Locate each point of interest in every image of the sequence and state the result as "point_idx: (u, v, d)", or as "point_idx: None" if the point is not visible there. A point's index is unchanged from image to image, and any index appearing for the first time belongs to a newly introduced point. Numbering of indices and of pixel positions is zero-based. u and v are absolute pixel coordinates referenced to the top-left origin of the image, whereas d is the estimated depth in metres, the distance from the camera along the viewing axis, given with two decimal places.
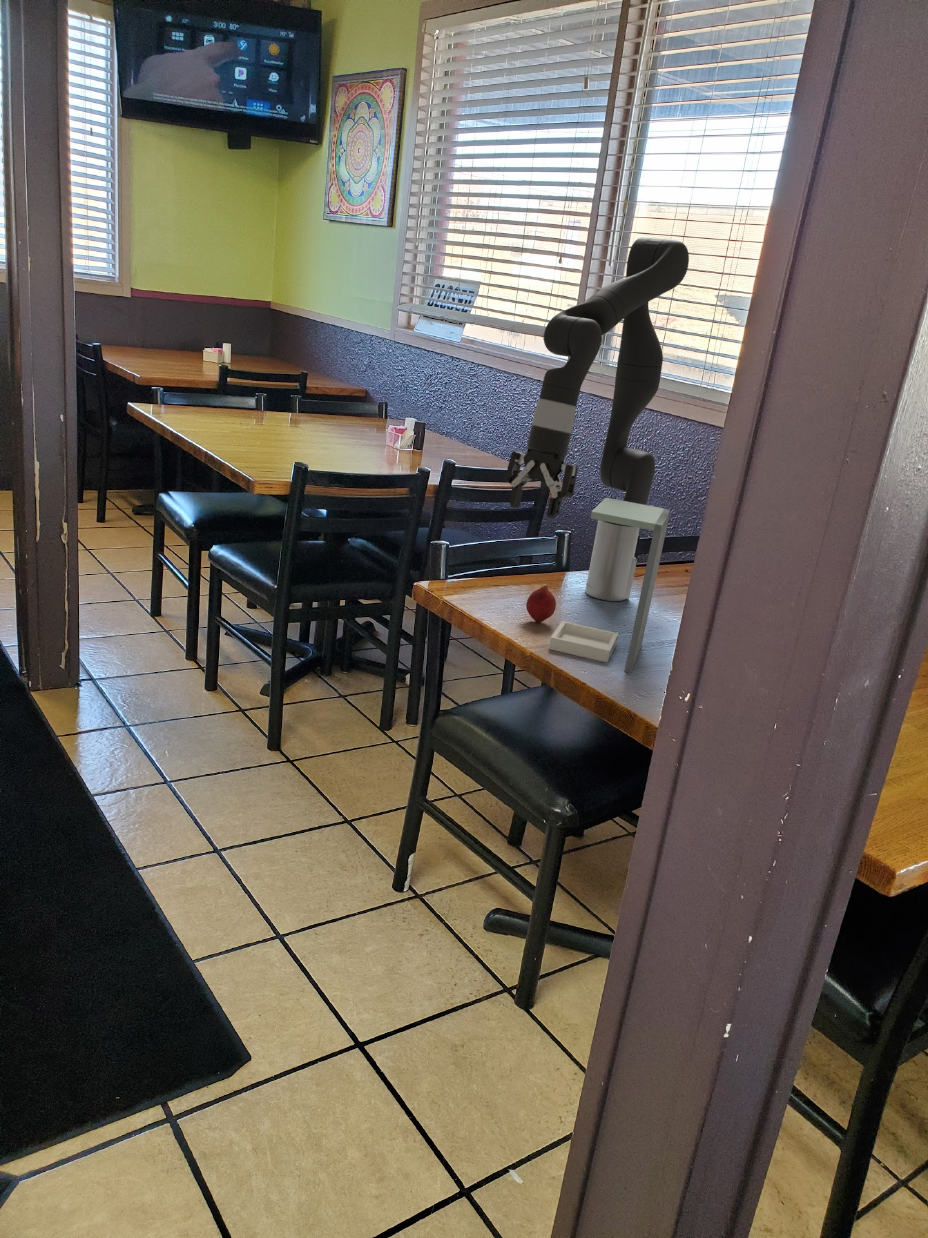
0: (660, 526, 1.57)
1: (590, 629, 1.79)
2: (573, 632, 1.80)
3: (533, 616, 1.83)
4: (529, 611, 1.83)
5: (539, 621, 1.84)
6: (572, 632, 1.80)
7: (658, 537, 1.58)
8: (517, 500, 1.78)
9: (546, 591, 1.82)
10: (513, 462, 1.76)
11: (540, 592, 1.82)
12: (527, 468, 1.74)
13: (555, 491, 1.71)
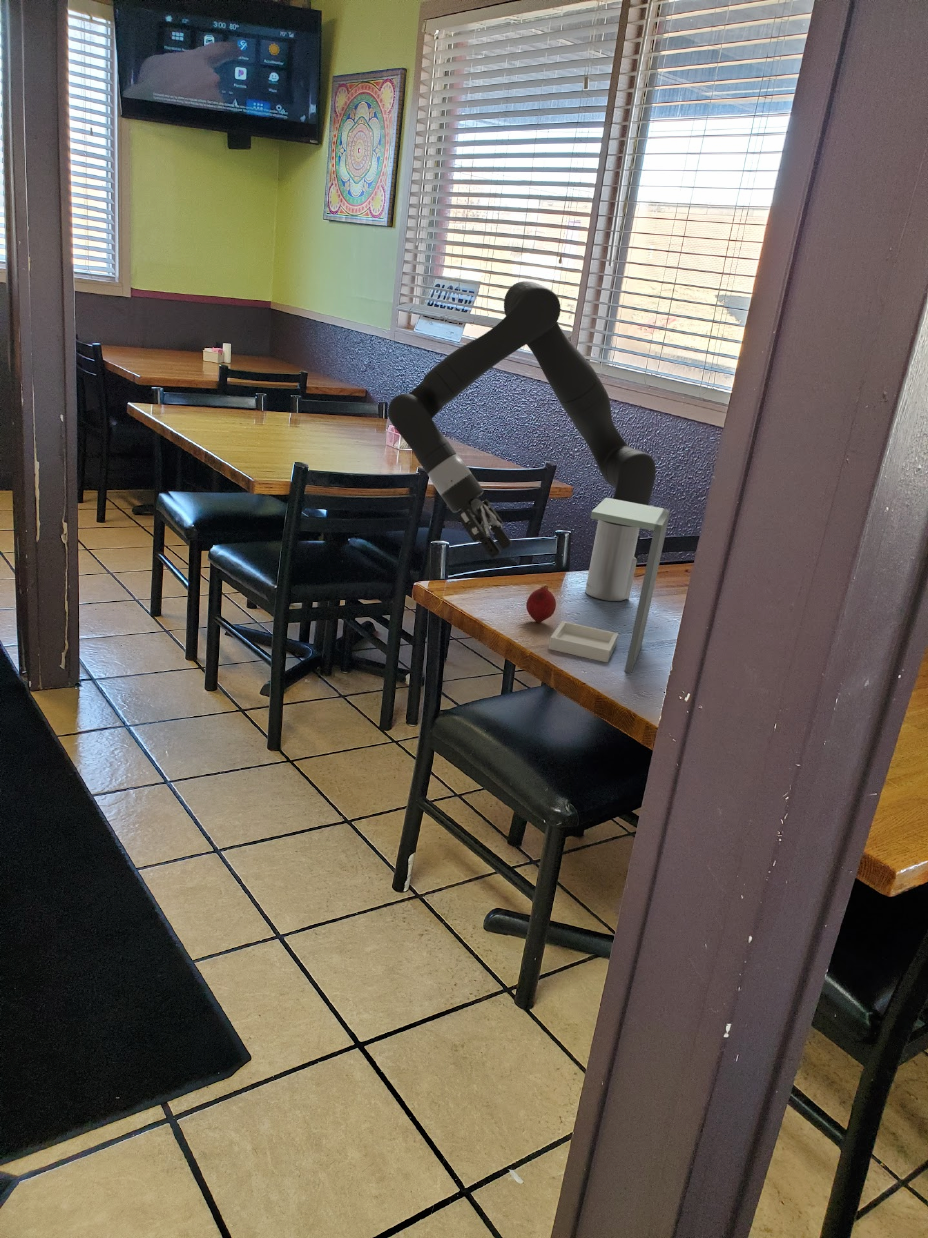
0: (660, 526, 1.57)
1: (590, 629, 1.79)
2: (573, 632, 1.80)
3: (533, 616, 1.83)
4: (529, 611, 1.83)
5: (539, 621, 1.84)
6: (572, 632, 1.80)
7: (658, 537, 1.58)
8: (503, 541, 1.87)
9: (546, 591, 1.82)
10: None
11: (540, 592, 1.82)
12: None
13: None
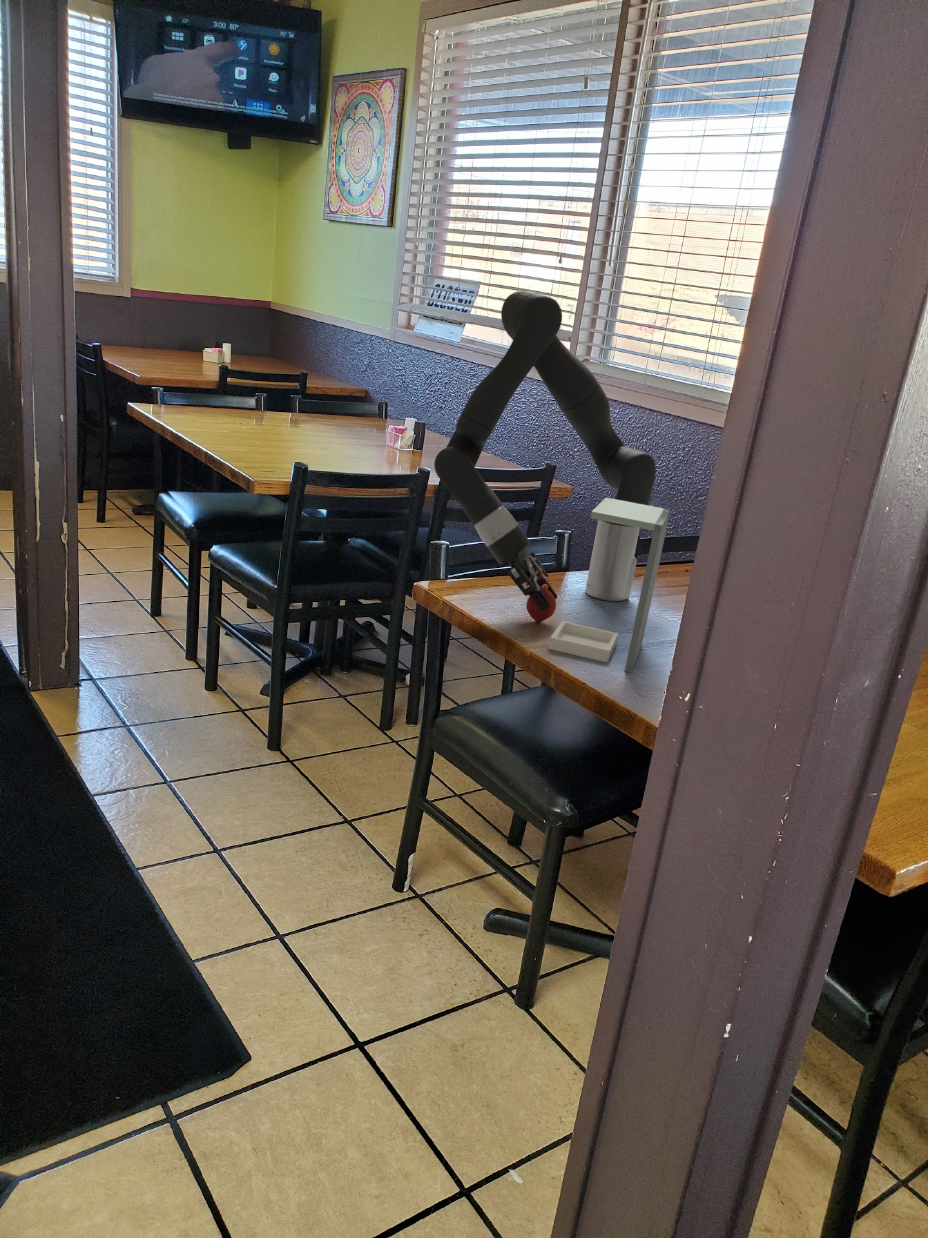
0: (660, 526, 1.57)
1: (590, 629, 1.79)
2: (573, 632, 1.80)
3: (533, 616, 1.83)
4: (530, 611, 1.83)
5: (539, 621, 1.84)
6: (572, 632, 1.80)
7: (658, 537, 1.58)
8: None
9: (546, 591, 1.82)
10: None
11: None
12: None
13: None
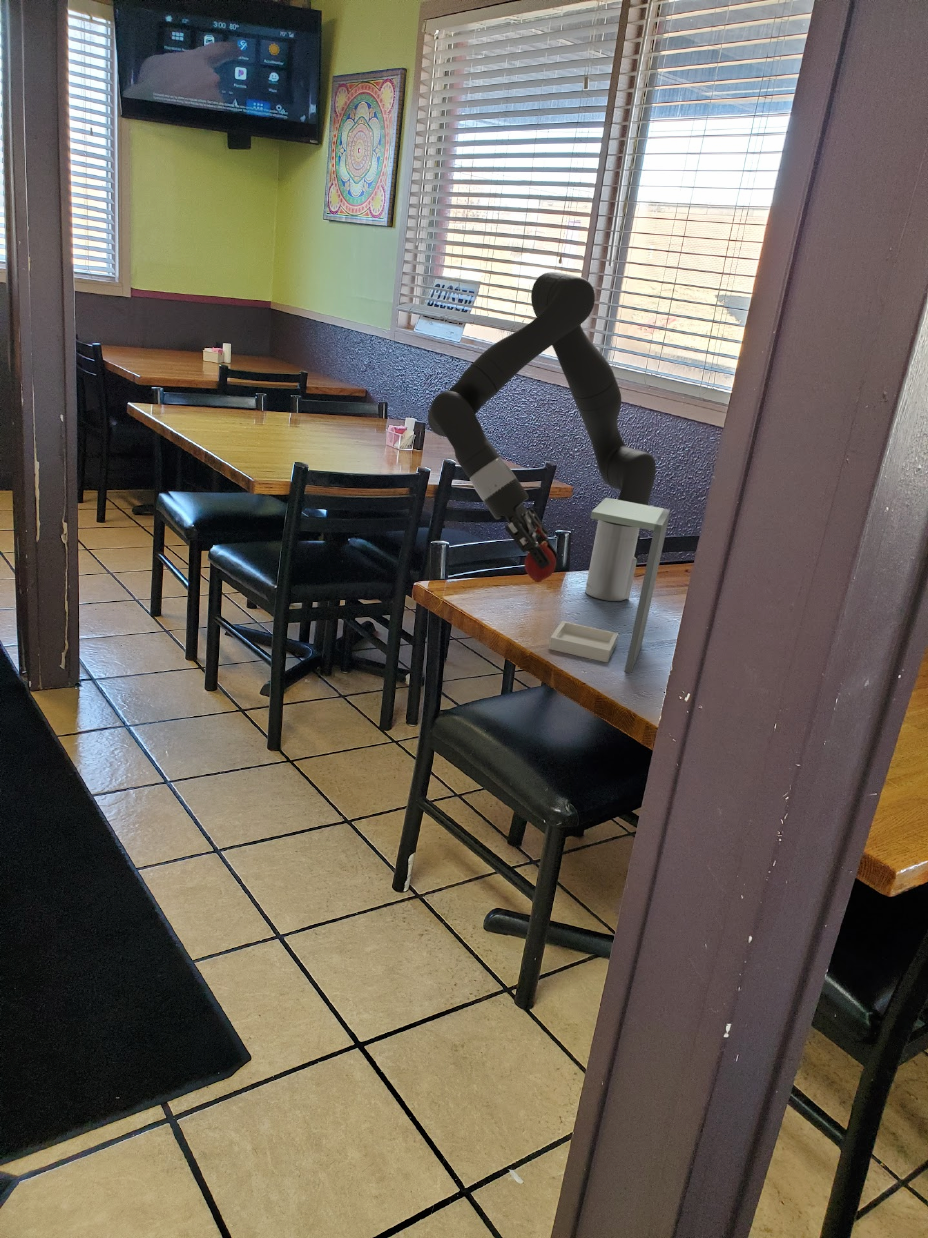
0: (660, 526, 1.57)
1: (590, 629, 1.79)
2: (573, 632, 1.80)
3: (531, 575, 1.72)
4: (528, 570, 1.72)
5: (538, 580, 1.74)
6: (572, 632, 1.80)
7: (658, 537, 1.58)
8: None
9: (545, 548, 1.72)
10: None
11: None
12: None
13: None
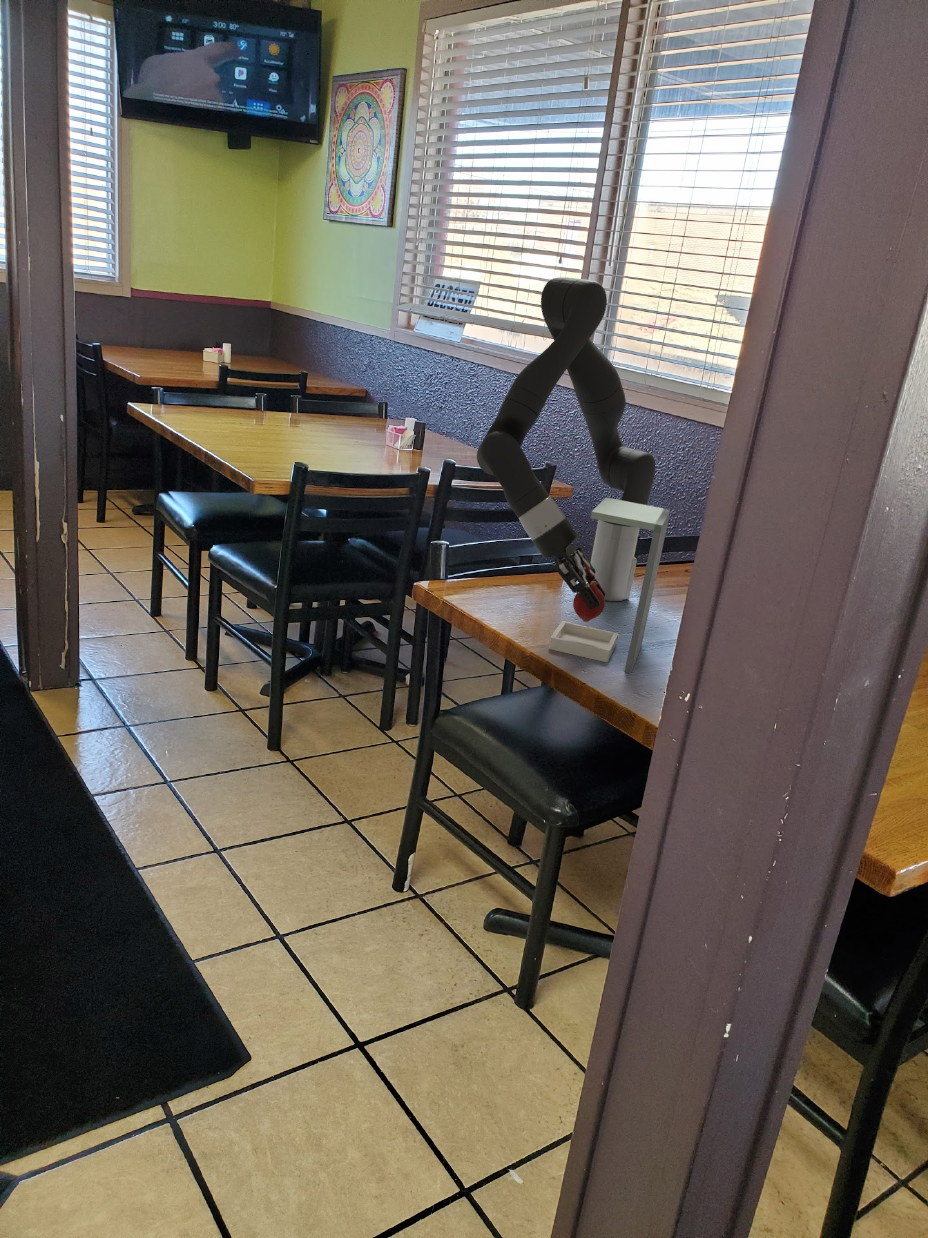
0: (660, 526, 1.57)
1: (590, 629, 1.79)
2: (573, 632, 1.80)
3: (580, 615, 1.72)
4: (577, 610, 1.72)
5: (587, 620, 1.73)
6: (572, 632, 1.80)
7: (658, 537, 1.58)
8: None
9: (595, 588, 1.71)
10: None
11: None
12: None
13: None
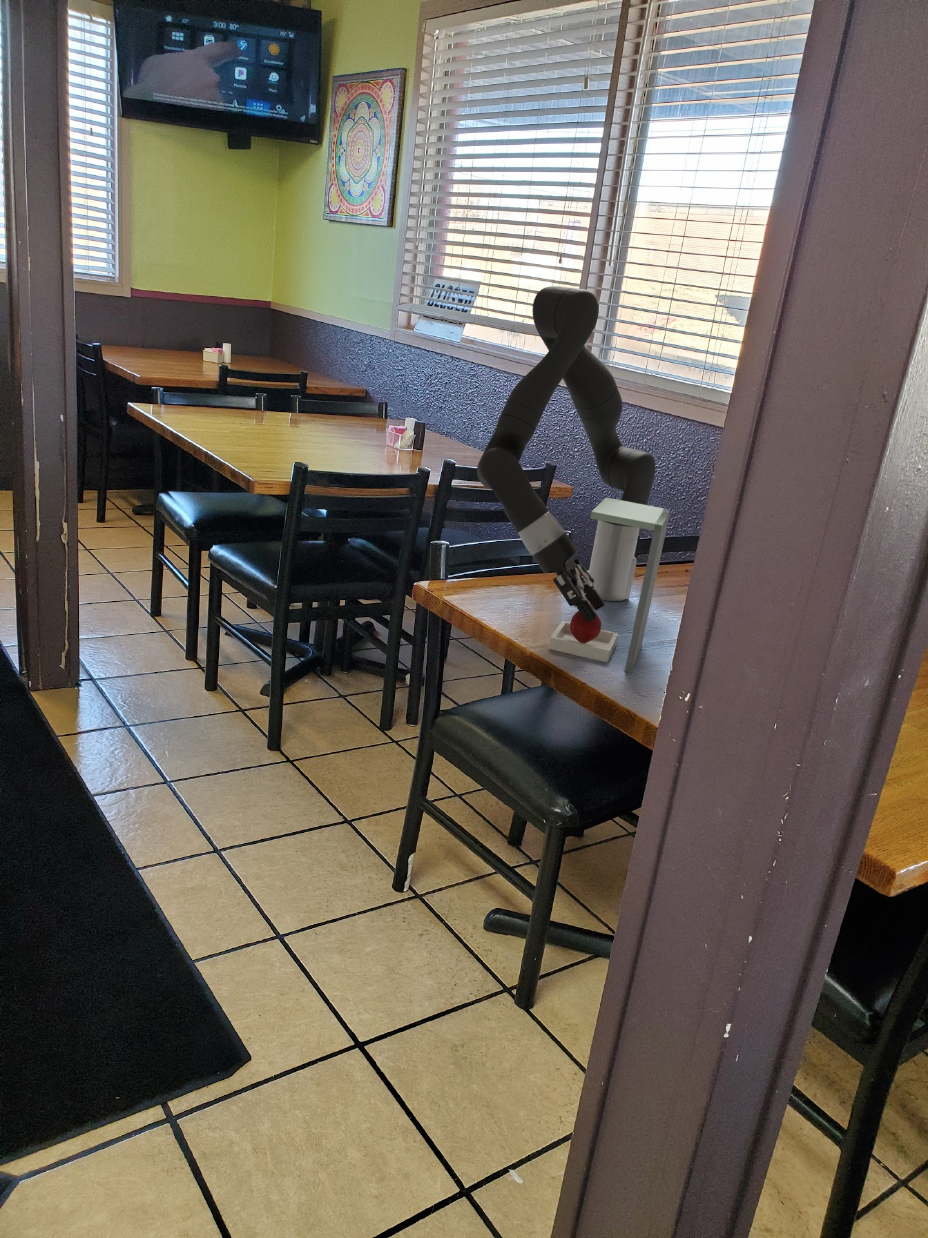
0: (660, 526, 1.57)
1: None
2: None
3: (577, 638, 1.73)
4: (573, 633, 1.73)
5: (584, 642, 1.74)
6: None
7: (658, 537, 1.58)
8: (596, 602, 1.76)
9: None
10: None
11: None
12: None
13: None
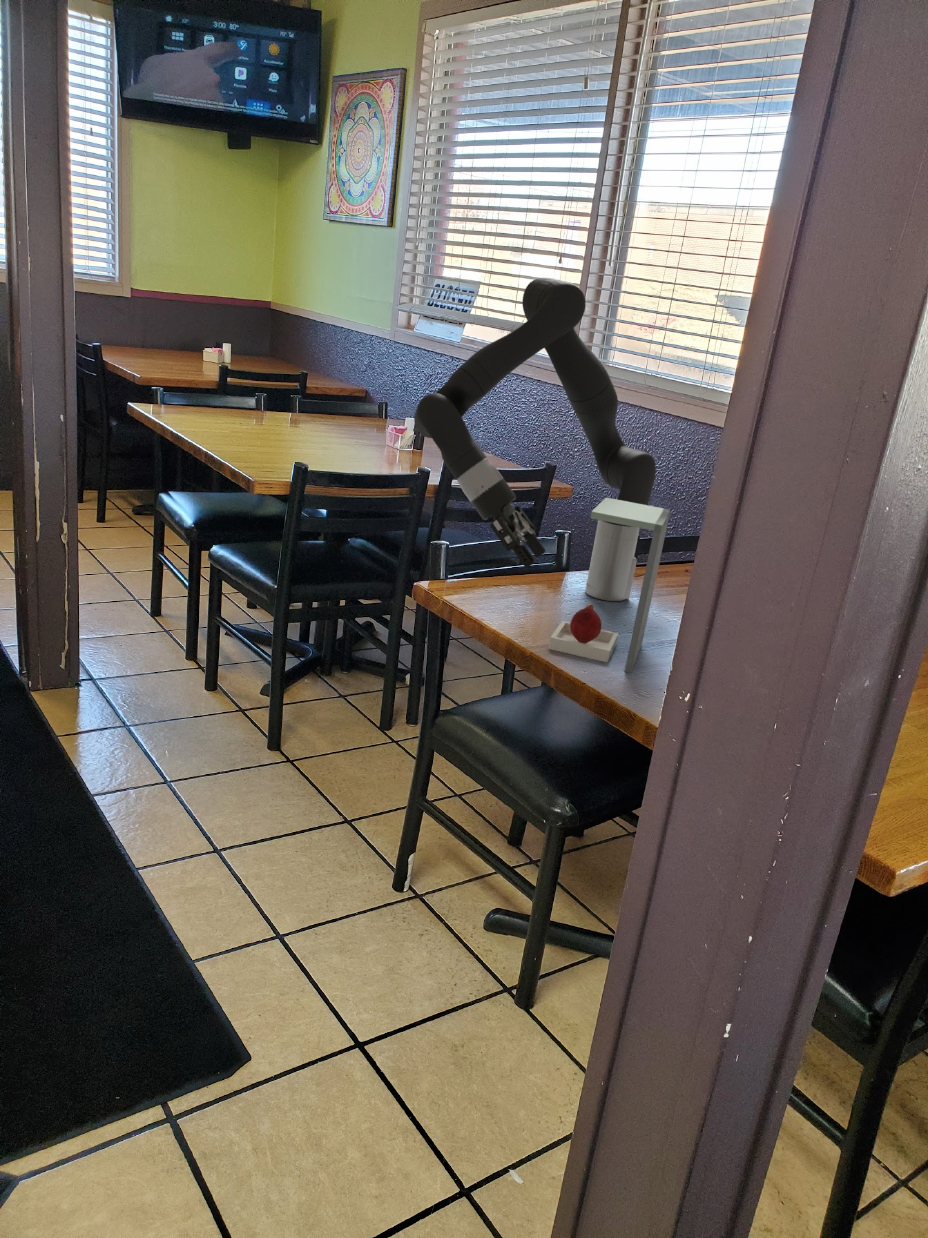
0: (660, 526, 1.57)
1: None
2: None
3: (577, 637, 1.73)
4: (574, 632, 1.73)
5: (584, 643, 1.74)
6: None
7: (658, 537, 1.58)
8: (537, 549, 1.77)
9: (591, 611, 1.72)
10: None
11: (585, 612, 1.72)
12: None
13: None
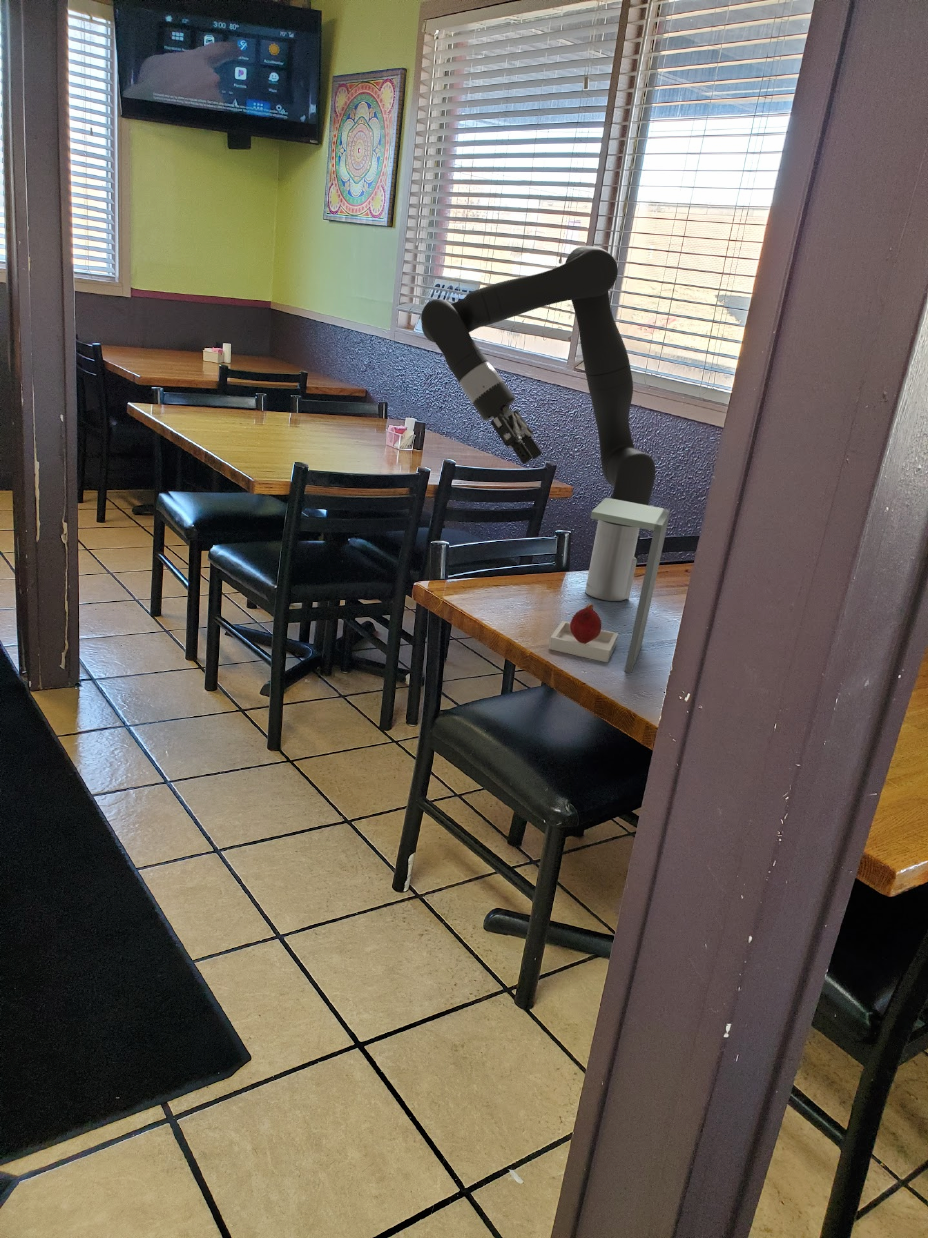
0: (660, 526, 1.57)
1: None
2: None
3: (578, 637, 1.73)
4: (574, 632, 1.73)
5: (584, 643, 1.74)
6: None
7: (658, 537, 1.58)
8: (533, 450, 1.88)
9: (591, 611, 1.72)
10: None
11: (585, 612, 1.72)
12: None
13: None
